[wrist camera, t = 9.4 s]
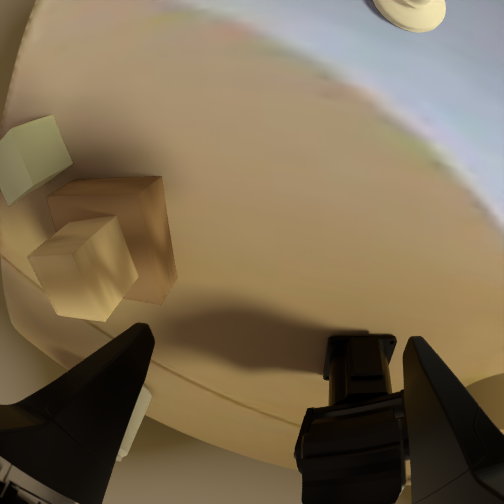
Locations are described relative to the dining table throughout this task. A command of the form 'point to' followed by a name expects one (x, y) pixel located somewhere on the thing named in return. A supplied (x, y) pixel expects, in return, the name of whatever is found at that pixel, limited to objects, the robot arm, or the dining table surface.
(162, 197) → the pedestal
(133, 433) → the beverage can
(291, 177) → the dining table surface
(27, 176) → the sage block
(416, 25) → the chess piece
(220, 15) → the dining table surface
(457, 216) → the dining table surface
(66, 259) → the oak cube
